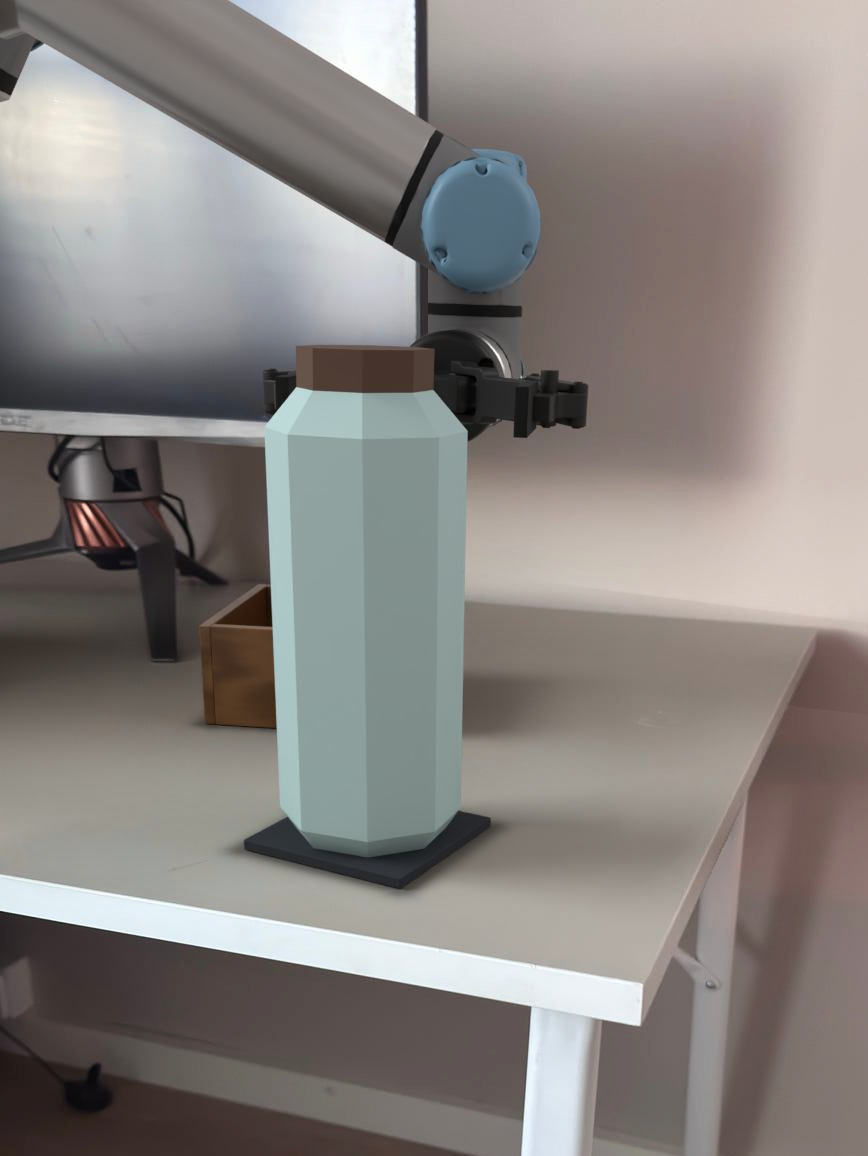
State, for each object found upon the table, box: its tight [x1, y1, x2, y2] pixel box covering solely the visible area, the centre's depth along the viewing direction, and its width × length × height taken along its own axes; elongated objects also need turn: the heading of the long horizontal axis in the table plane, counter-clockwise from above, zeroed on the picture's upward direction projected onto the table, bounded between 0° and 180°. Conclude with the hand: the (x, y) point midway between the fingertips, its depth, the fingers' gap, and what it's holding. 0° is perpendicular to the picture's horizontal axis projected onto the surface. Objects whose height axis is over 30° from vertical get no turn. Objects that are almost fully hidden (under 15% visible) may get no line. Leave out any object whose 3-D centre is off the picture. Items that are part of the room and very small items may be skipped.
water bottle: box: [263, 344, 468, 858], centre depth 67 cm, size 10×10×25 cm
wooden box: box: [198, 583, 277, 729], centre depth 95 cm, size 15×15×7 cm
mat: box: [243, 810, 492, 890], centre depth 72 cm, size 10×10×1 cm
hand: (400, 407), depth 72 cm, fingers open, 13 cm apart
